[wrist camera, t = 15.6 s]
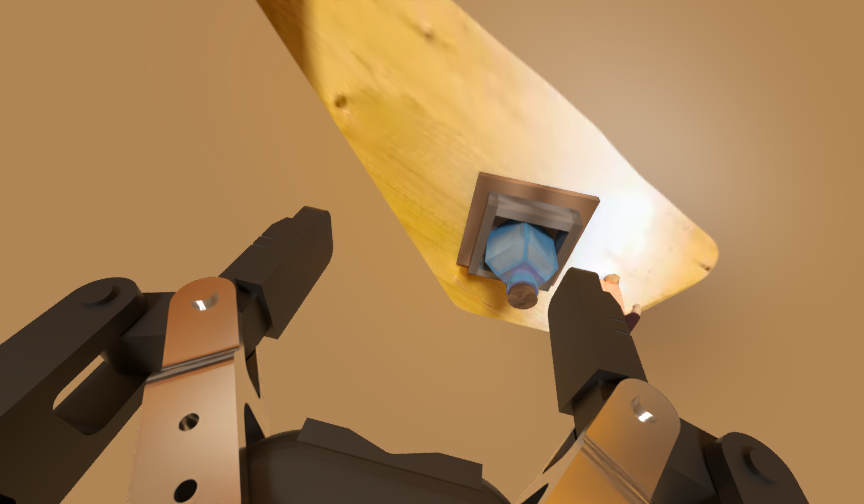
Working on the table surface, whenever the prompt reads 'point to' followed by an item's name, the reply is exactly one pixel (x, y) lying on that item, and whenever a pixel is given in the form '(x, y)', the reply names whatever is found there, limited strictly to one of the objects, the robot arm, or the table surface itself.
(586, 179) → the table surface
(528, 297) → the perfume bottle
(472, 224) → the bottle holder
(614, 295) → the grandmother figurine
